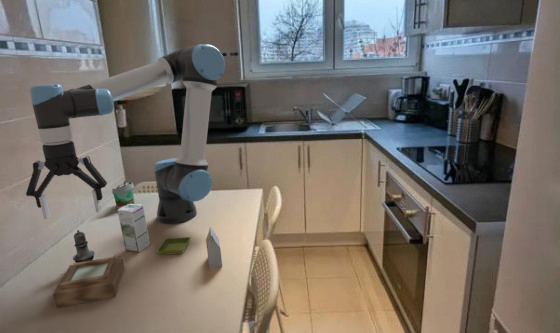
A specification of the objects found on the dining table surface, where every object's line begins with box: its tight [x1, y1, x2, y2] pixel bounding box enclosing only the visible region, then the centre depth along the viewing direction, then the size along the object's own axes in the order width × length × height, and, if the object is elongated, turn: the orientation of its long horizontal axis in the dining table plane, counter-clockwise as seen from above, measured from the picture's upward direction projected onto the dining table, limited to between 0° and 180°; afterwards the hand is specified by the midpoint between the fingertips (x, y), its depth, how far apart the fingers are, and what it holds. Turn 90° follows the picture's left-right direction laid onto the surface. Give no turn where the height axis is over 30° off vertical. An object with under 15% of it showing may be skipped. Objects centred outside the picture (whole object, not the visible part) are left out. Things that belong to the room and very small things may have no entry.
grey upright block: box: [205, 227, 223, 269], centre depth 105 cm, size 4×7×10 cm, turn 14°
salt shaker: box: [72, 229, 95, 263], centre depth 107 cm, size 6×6×12 cm
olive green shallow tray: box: [156, 236, 192, 255], centre depth 116 cm, size 9×9×2 cm
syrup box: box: [117, 203, 151, 253], centre depth 116 cm, size 6×6×14 cm
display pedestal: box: [52, 256, 126, 309], centre depth 97 cm, size 14×14×5 cm
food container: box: [111, 180, 135, 211], centre depth 155 cm, size 12×6×10 cm, turn 179°
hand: (73, 214), depth 104 cm, fingers open, 13 cm apart
